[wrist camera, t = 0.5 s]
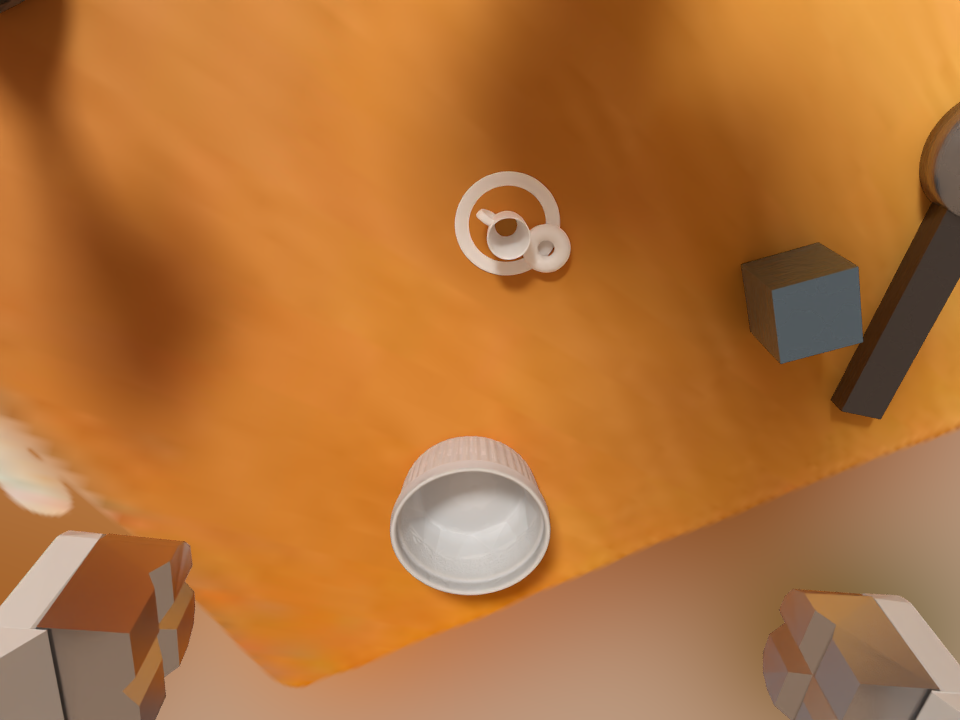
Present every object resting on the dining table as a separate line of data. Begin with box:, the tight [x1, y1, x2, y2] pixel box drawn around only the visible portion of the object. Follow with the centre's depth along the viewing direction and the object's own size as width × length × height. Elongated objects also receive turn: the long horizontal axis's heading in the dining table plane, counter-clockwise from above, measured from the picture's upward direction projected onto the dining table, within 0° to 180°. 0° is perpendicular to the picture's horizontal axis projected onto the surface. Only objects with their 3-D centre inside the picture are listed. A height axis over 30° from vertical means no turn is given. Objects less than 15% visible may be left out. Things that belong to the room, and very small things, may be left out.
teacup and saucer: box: [455, 171, 571, 275], centre depth 51 cm, size 9×8×4 cm
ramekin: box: [390, 436, 550, 595], centre depth 60 cm, size 13×13×7 cm
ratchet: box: [831, 102, 960, 419], centre depth 52 cm, size 26×9×6 cm, turn 167°
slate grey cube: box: [741, 243, 863, 364], centre depth 53 cm, size 6×6×6 cm
